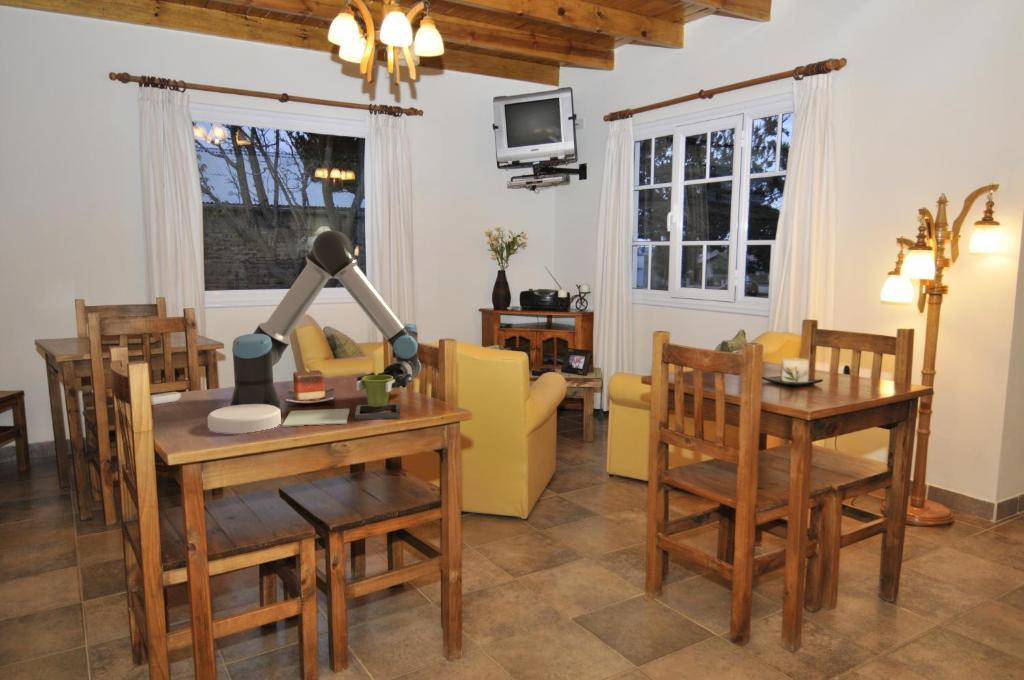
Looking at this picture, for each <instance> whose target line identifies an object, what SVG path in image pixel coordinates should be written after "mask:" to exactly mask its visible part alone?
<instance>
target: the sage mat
mask: <svg viewBox="0 0 1024 680" xmlns="http://www.w3.org/2000/svg"><path fill="white" fill-rule="evenodd" d="M349 414H350V408H332V409H331V408H329V409H307V410H303V409H302V410H291V411H289V413H288V415H287V417H286V418H285V420H284V422H283V423H282V425H281V427H282V428H292V427H291V426H298V427H305V426H304V425H320V426H327V425H326V424H342V425H347V423H348V419H349ZM324 424H325V425H324Z"/></svg>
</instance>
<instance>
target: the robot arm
mask: <svg viewBox="0 0 1024 680" xmlns="http://www.w3.org/2000/svg"><path fill="white" fill-rule="evenodd" d="M353 252H354V247H353V243H352V240H351V239H350V238H349V237H348V236H347V234H345V233H343V232H341V231H338V230H324V231H322V232H320V233H319V234H318V235H317V236H316V237H315V239H314V240H313V243H312V249H311V250H310V251H309V252H308V254H307V255H306V257H305V258H306V265H305V267H304V268H303V269H302V271H301V273H300V274H299V275H298V276H297V278H296V280H295V281H294V282H293V284H292V285H291V287H290V289H289V290H288V291H287V293H286V294H285V295H284V296H283V299H282V300H281V301H280V302H279V303H278V305H277V307H276V308H275V310H274V311H273V312H272V313H271V315H270V316H269V318H268V319H267V321H266V322H261V323H259V324H258V326H257V327H256V329H255V330H254V332H253V333H250V334H243V335H239V336H237V337H235V338H234V340H233V341H232V348H231V349H232V350H231V352H232V359H233V360H232V361H233V374H234V375H233V376H234V377H233V379H234V388H233V392H232V396H231V399H230V402H229V406H235V405H245V404H266V405H272V406H275V407H277V408H279V409H280V408H281V400H280V397H279V394H278V392H277V389H276V387H275V384H274V370H273V369H274V366H275V365H276V364H278V363H279V361H280V360H281V358H282V356H283V355H284V352H285V351H286V349H287V348H288V347H289V345H290V344H291V341H290V336H291V334H292V333H293V331H294V330H295V328H296V327H297V326H298V324H299V323H300V321H301V320H302V318H303V317H304V315H305V314H306V313H307V311H308V310H309V308H310V307H311V305H312V304H313V303H314V301H315V299H316V298H317V297H318V296H319V294H320V292H321V291H322V290H323V289H324V287H325V286H326V284H327V282H329V280H330V279H336V280H338V281H339V282H340V284H341V285H342V286H343V287H344V288H345V290H346V291H347V292H348V293H349V295H350V296H351V297H352V298H353V300H354V301H355V302H356V303H357V304H358V306H359V307H360V309H361V310H362V311H363V312H364V313H365V315H366V316H367V317H368V318H369V320H370V321H371V322H372V324H373V325H374V326H375V328H376V329H377V330H378V331H379V333H381V335H382V336H383V338H384V339H386V341H387V343H389V345H390V346H391V348H392V349H393V352H394V353H395V362H393V363H391V364H390V365H388V366H386V367H385V368H384V370H383V372H378V373H376V372H370V373H368V374H364V375H361V376H357V378H356V392H359V391H362V390H363V389H366V388H365V384H364V381H363V380H362V378H363V377H365V376H370V375H389V376H393V379H392V380H391V381H389V382H387V383H386V392H389V391H390V392H391V391H393V390H394V389H396V388H397V389H399V388H400V387H401V388H403V389H405V388H407V386H408V385H409V383H411V382H412V380H413V379H415V378H416V377H417V376H418V375H420V373H421V369H422V365H421V362H420V360H419V355H418V348H419V345H418V333H419V332H418V326H417V324H415V323H403V321H401V319H400V317H399V316H397V314H396V313H395V311H394V310H393V309H392V308H391V306H390V305H389V304H388V303H387V301H386V300H385V299H384V297H383V296H382V295H381V293H379V291H378V290H377V288H376V287H375V286H374V285H373V284H372V282H371V281H370V279H369V278H368V277H367V276H366V274H365V273H364V272H363V270H362V269H361V268H360V266H359V265H358V259H357V258H356V256H355V255H354V254H353Z"/></svg>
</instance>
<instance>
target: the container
mask: <svg viewBox="0 0 1024 680" xmlns="http://www.w3.org/2000/svg"><path fill="white" fill-rule="evenodd" d="M281 412H282V411H281V409H280V408H277V407H275V406H272V405H266V404H245V405H235V406H230V405H229V406H224V407H220V408H218V409H215V410H212V411H211V412H209V414H208V415H207V417H206V418H207V429H208V428H209V429H211V430H214V431H219V432H229V433H243V432H244V433H247V432H255V431H261V430H266V429H271V428H273V429H275V428H274V427H276V428H278V427H279V426H280V425H279V424H282V419H281V418H282V416H281V415H282V414H281ZM278 425H279V426H278ZM277 426H278V427H277ZM271 430H272V429H271Z"/></svg>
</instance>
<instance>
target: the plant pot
mask: <svg viewBox="0 0 1024 680" xmlns="http://www.w3.org/2000/svg"><path fill="white" fill-rule="evenodd" d="M392 379H393V376H389V375H377V374H375V375H370V376H365V377H363V378H362V380H363V381H364V384H365V388H364V389H365V393H366V400H367V405H369V406H372V407H379V406H386V405H388V404H389V401H390V400H389V399H390V392H391V391H389V392H386V383H387V382H389V381H391V380H392Z"/></svg>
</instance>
